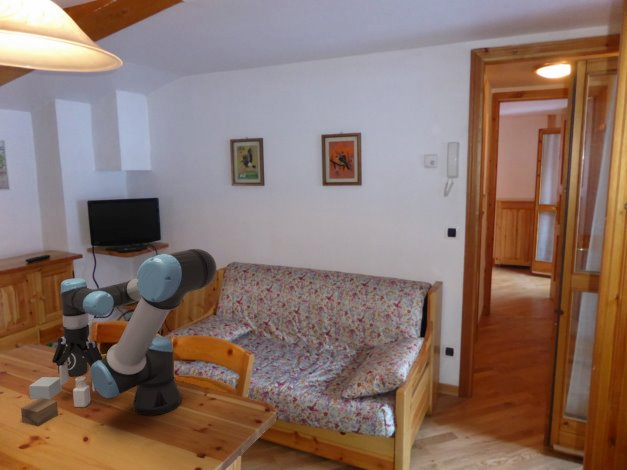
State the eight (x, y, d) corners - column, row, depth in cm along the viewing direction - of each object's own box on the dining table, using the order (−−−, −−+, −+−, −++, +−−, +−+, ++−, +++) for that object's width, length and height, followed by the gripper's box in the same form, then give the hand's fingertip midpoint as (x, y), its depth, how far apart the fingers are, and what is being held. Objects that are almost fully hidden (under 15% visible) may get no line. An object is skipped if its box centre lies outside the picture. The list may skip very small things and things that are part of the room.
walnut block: (58, 415, 147) (57, 401, 146) (38, 427, 140) (37, 411, 140) (42, 411, 149) (41, 397, 149) (22, 422, 143) (20, 407, 142)
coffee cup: (83, 378, 173) (80, 341, 171) (58, 378, 173) (55, 341, 171) (96, 368, 182) (93, 332, 180) (72, 368, 182) (69, 332, 180)
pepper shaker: (79, 401, 155) (77, 375, 154) (91, 402, 155) (89, 375, 154) (73, 407, 151) (71, 380, 150) (85, 408, 151) (83, 381, 150)
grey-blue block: (62, 390, 164) (60, 377, 163) (49, 400, 157) (48, 386, 156) (43, 390, 164) (42, 376, 164) (30, 399, 158) (29, 386, 157)
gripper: (115, 326, 149) (118, 386, 152) (56, 317, 157) (60, 375, 160) (98, 333, 142) (102, 397, 145) (37, 324, 150) (42, 385, 153)
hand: (80, 386), depth 153 cm, fingers open, 13 cm apart
